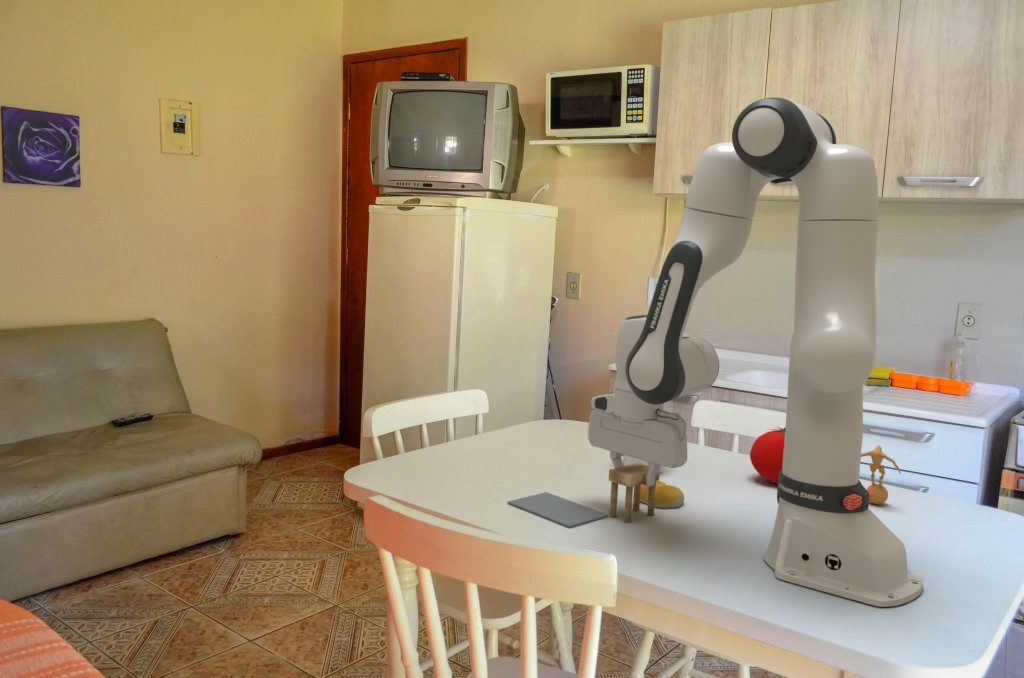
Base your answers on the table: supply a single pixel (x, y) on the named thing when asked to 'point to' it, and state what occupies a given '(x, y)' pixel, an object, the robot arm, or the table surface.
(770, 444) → the tomato
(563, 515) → the mat
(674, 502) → the bread roll
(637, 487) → the stool
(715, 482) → the table surface
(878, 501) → the figurine
